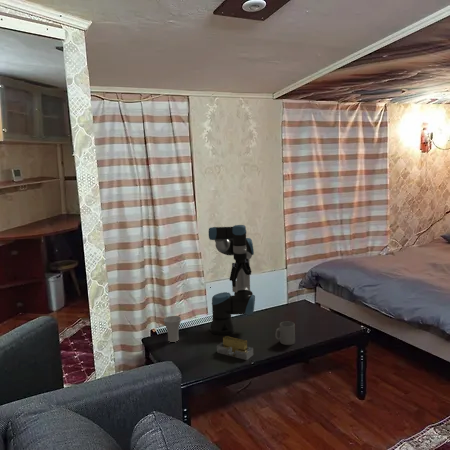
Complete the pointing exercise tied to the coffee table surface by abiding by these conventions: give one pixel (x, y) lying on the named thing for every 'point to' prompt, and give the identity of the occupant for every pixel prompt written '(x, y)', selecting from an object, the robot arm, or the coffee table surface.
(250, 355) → the bracket
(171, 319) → the cup
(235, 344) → the yellow rectangular block
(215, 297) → the robot arm
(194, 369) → the coffee table surface
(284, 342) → the mug
